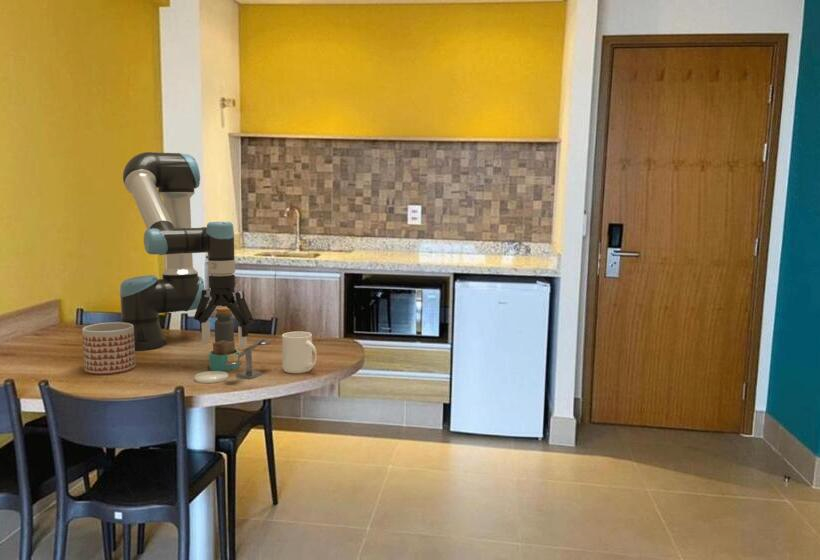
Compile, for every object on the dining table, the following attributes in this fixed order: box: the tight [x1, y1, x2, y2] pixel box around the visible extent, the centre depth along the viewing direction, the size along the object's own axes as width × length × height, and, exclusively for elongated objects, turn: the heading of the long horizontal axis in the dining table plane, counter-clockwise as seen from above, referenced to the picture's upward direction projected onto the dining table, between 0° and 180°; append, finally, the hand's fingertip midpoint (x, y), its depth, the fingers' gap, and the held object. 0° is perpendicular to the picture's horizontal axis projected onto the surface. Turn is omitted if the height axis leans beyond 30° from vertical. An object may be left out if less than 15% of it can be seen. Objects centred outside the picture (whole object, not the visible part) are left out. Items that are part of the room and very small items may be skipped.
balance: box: [225, 338, 272, 380], centre depth 188 cm, size 5×18×9 cm, turn 156°
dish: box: [194, 370, 229, 384], centre depth 185 cm, size 9×9×1 cm
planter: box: [81, 321, 136, 376], centre depth 193 cm, size 14×14×13 cm
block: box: [212, 341, 236, 355], centre depth 197 cm, size 4×4×8 cm
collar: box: [208, 348, 241, 372], centre depth 197 cm, size 8×8×5 cm
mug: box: [281, 331, 318, 374], centre depth 193 cm, size 9×12×11 cm
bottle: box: [214, 306, 235, 343], centre depth 212 cm, size 6×6×15 cm
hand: (224, 345), depth 196 cm, fingers open, 13 cm apart
